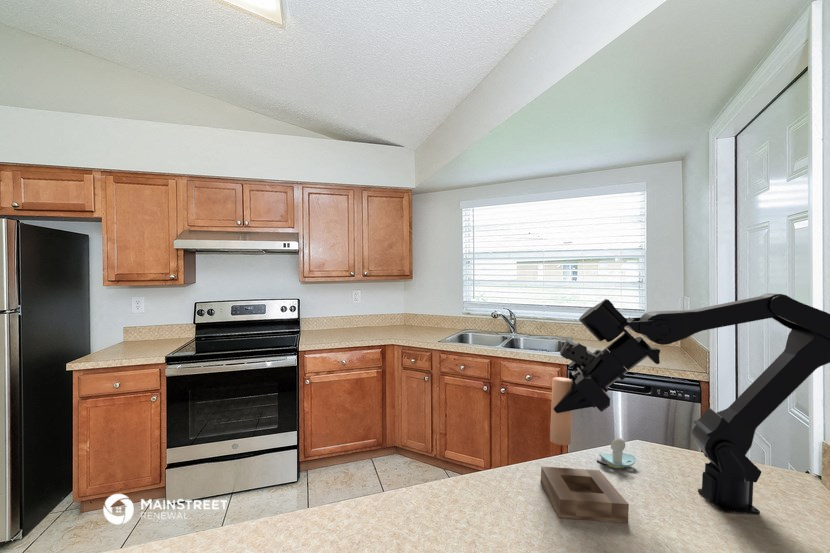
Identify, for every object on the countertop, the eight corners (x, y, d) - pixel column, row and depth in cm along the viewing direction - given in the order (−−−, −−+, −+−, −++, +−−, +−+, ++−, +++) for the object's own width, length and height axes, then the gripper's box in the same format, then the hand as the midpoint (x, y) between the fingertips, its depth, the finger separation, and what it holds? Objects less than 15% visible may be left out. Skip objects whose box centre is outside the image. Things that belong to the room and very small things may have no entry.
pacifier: (590, 458, 86) (606, 471, 80) (591, 430, 86) (607, 440, 80) (621, 458, 86) (639, 471, 81) (621, 430, 87) (640, 440, 81)
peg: (566, 437, 80) (569, 377, 80) (573, 446, 76) (576, 383, 76) (547, 436, 81) (550, 376, 81) (553, 444, 77) (556, 381, 77)
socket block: (598, 485, 74) (599, 470, 74) (627, 522, 63) (628, 504, 63) (540, 481, 74) (541, 466, 74) (559, 517, 63) (560, 499, 63)
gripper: (581, 323, 86) (527, 367, 89) (592, 334, 68) (525, 388, 72) (618, 362, 84) (562, 405, 87) (640, 384, 66) (568, 437, 69)
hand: (554, 407), depth 79 cm, fingers closed on peg, 4 cm apart
